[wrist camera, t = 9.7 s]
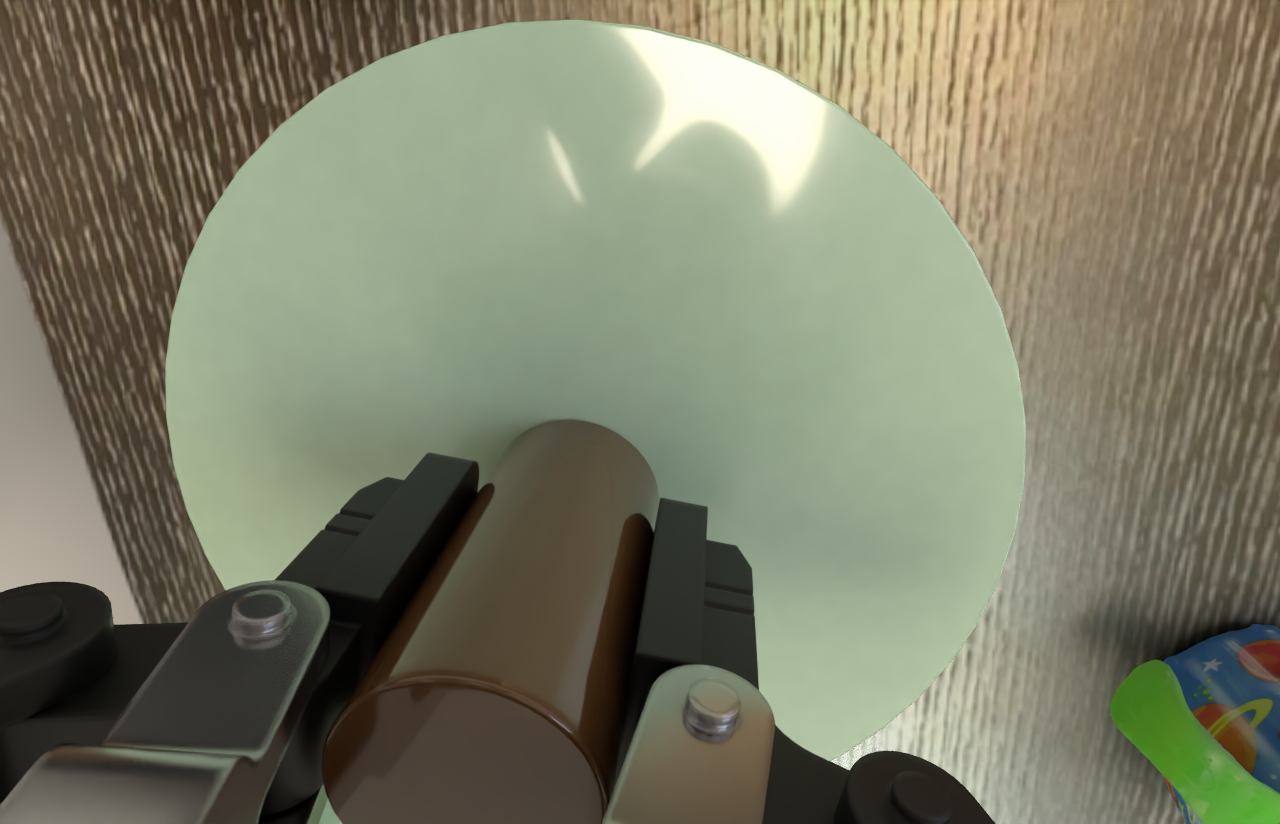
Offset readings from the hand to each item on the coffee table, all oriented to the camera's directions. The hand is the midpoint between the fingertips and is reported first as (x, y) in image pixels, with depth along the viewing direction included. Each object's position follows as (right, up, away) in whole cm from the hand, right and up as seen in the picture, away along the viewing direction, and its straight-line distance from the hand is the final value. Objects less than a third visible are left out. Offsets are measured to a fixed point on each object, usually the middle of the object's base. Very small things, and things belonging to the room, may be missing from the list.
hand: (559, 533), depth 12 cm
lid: (0, +1, +2) cm, 2 cm away
